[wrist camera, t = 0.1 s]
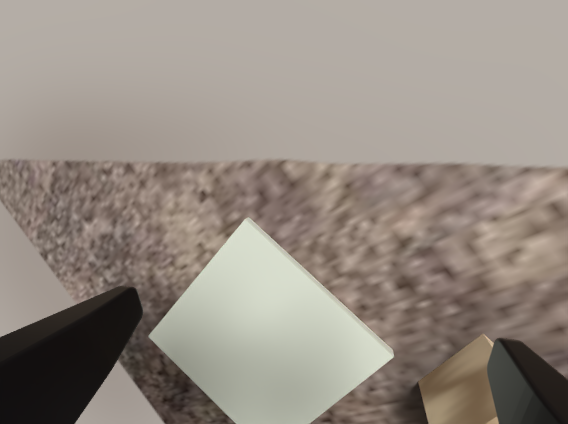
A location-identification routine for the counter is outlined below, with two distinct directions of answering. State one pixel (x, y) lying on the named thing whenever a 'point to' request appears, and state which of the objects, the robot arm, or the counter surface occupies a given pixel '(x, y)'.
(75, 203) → the counter surface
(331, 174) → the counter surface
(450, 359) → the maple cube
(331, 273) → the counter surface
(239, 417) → the sage mat
